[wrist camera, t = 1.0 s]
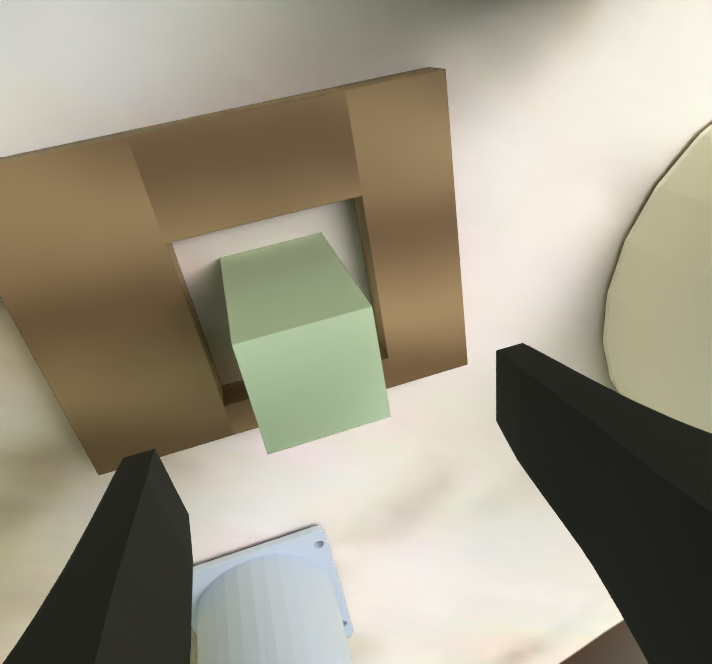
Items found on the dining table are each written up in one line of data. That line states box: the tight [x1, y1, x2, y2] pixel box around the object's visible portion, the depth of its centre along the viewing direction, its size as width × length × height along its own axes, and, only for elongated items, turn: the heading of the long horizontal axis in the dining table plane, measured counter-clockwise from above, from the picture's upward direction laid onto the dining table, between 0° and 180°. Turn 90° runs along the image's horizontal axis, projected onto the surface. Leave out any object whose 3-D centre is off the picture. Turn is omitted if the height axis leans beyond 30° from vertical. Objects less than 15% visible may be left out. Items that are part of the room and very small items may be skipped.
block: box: [220, 233, 391, 454], centre depth 19 cm, size 4×4×7 cm
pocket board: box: [0, 67, 468, 475], centre depth 21 cm, size 12×16×2 cm
